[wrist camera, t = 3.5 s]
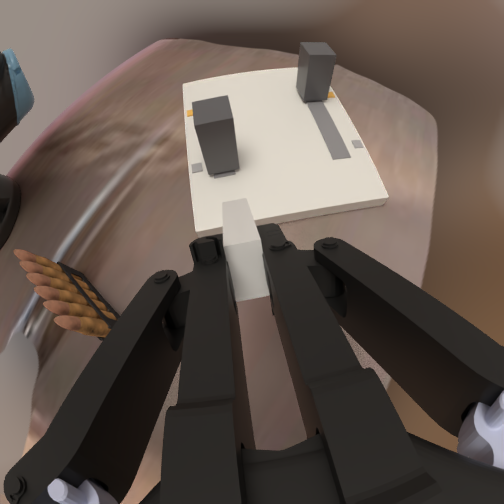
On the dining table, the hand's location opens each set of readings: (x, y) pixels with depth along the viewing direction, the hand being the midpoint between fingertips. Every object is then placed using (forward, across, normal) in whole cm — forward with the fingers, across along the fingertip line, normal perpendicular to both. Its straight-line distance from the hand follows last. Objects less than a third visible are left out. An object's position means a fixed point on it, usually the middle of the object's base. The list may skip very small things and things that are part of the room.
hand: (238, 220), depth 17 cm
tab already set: (+23, +13, +9) cm, 28 cm away
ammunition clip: (+8, -18, -10) cm, 21 cm away
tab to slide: (+16, -1, +2) cm, 16 cm away
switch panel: (+21, +6, +4) cm, 22 cm away
